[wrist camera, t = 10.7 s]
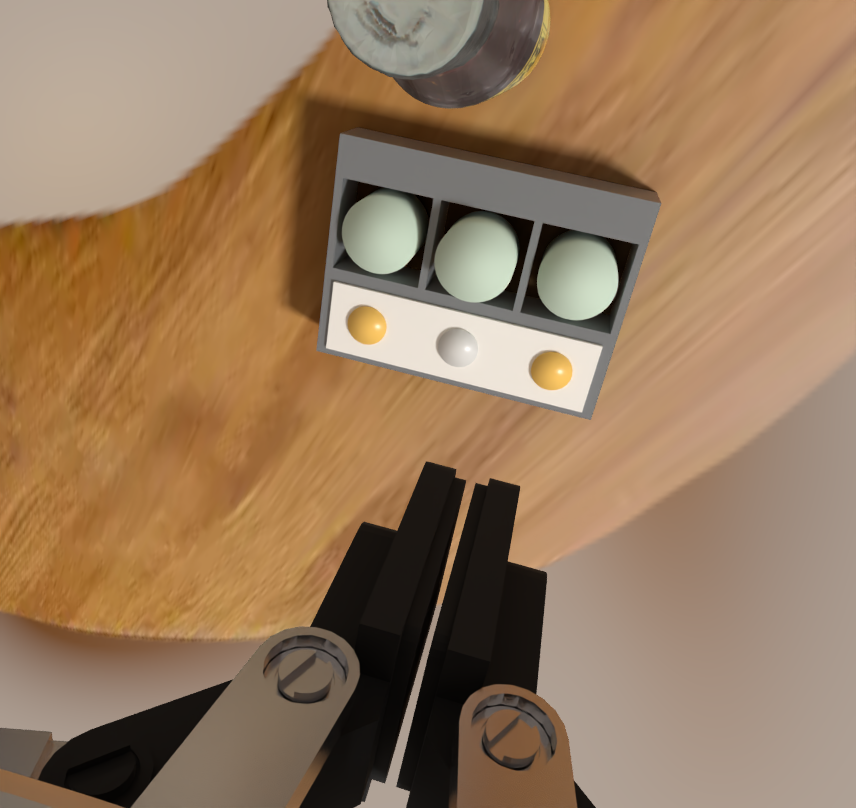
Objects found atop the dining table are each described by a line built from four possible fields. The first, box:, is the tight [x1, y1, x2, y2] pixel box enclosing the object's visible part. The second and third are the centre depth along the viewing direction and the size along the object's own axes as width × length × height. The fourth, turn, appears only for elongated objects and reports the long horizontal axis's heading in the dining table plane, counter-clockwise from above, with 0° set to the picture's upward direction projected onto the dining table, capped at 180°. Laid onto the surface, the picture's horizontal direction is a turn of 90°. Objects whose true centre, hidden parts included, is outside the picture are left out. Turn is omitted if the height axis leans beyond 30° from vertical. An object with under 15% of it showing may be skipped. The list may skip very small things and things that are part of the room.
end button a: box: [342, 187, 429, 274], centre depth 38 cm, size 4×4×3 cm
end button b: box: [537, 230, 618, 320], centre depth 37 cm, size 4×4×3 cm
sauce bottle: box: [327, 0, 550, 108], centre depth 26 cm, size 7×6×20 cm
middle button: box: [434, 211, 520, 303], centre depth 37 cm, size 4×4×3 cm
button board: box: [317, 127, 661, 420], centre depth 39 cm, size 12×16×3 cm
